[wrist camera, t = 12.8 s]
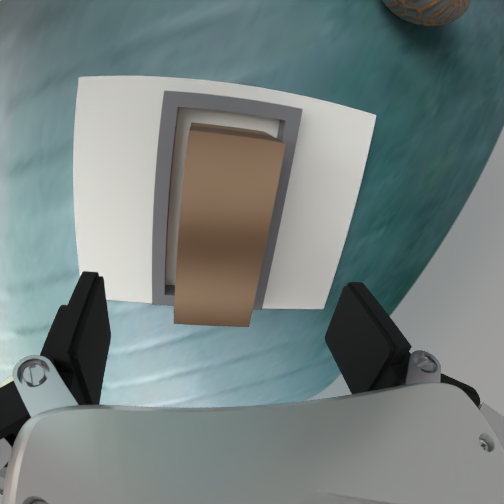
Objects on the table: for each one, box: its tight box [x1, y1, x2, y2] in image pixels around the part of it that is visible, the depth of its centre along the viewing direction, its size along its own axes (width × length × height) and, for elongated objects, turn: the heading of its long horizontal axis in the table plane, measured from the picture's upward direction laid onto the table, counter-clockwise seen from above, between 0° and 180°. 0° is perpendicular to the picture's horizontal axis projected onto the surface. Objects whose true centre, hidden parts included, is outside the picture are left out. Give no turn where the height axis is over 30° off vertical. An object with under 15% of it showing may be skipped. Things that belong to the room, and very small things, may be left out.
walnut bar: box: [174, 122, 286, 327], centre depth 20 cm, size 12×5×6 cm, turn 170°
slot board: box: [73, 76, 376, 310], centre depth 23 cm, size 22×18×2 cm
